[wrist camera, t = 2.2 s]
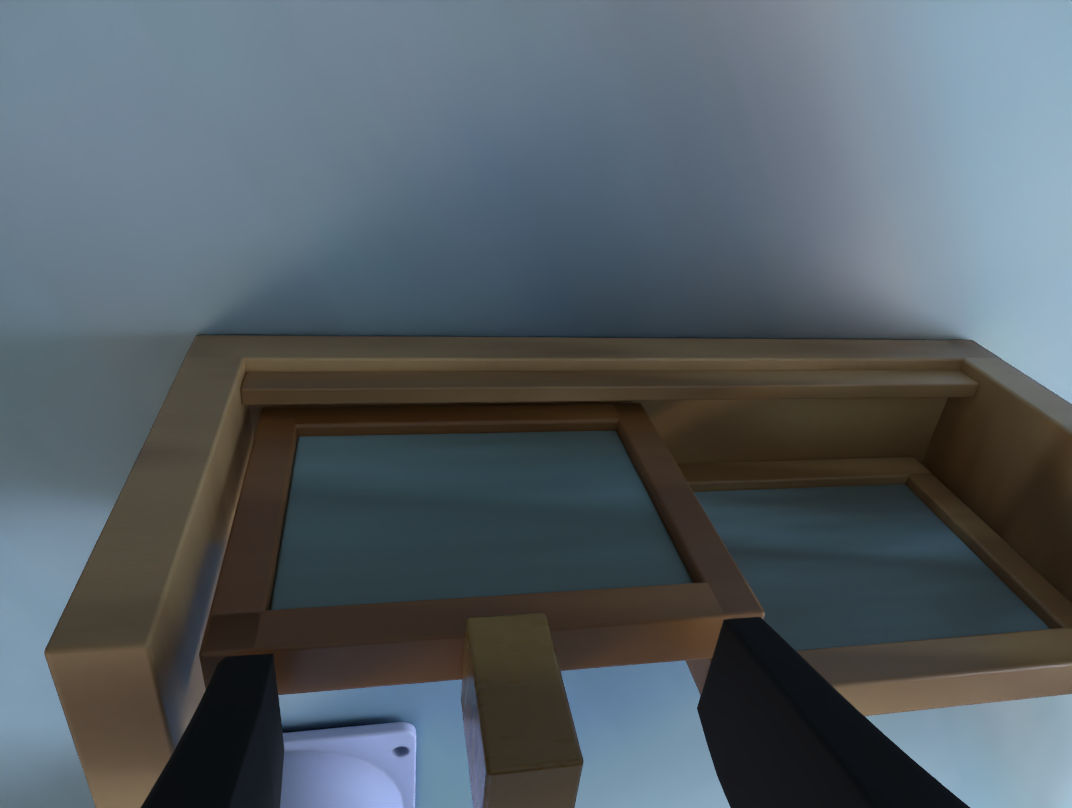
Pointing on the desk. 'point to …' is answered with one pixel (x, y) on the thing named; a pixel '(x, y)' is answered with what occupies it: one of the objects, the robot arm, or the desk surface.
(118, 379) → the desk surface
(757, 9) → the desk surface
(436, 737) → the desk surface
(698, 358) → the window frame
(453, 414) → the sash
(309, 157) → the desk surface
